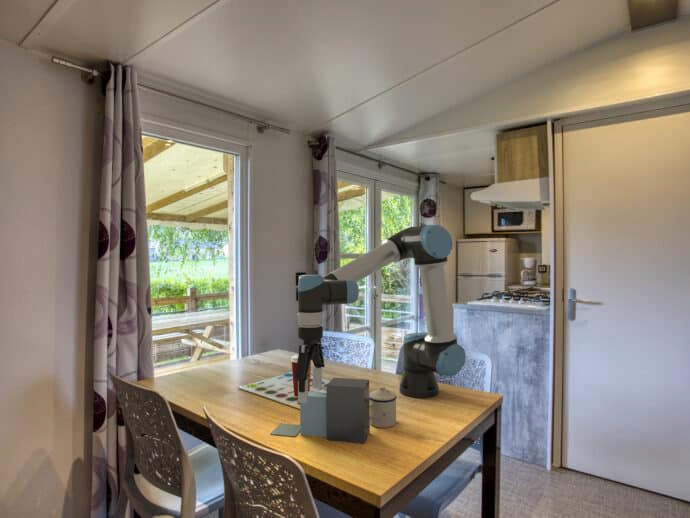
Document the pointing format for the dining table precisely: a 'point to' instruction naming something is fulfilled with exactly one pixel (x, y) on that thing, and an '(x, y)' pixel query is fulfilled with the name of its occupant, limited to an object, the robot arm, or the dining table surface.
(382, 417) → the teacup with lid
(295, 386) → the coffee cup
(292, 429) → the pad
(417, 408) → the dining table surface
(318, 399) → the slate blue cuboid
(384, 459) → the dining table surface
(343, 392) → the dark gray cuboid
